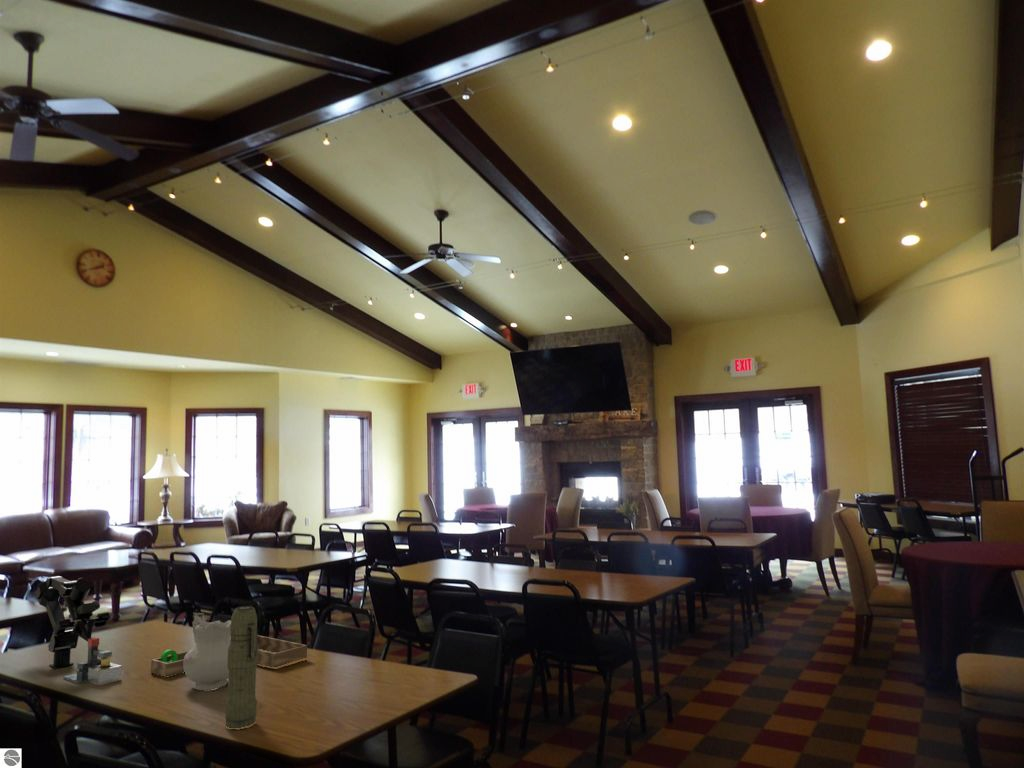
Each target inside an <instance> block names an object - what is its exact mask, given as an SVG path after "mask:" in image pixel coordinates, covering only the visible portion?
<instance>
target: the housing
mask: <svg viewBox="0 0 1024 768" xmlns="http://www.w3.org/2000/svg"><path fill="white" fill-rule="evenodd" d="M122 668H123V666H122V665H121V664H118V663H114V662H110V667H108V668H101V665H98V666H94V667H89V669H88V682H87V683H89V682H90V683H89V684H93V685H96V686H98V685H99V686H103V685H107V684H111V683H115V682H118V680H119V681H122V673H123V672H122V670H123V669H122ZM114 681H115V682H114ZM110 682H111V683H110Z"/></svg>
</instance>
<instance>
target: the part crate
mask: <svg viewBox="0 0 1024 768" xmlns="http://www.w3.org/2000/svg"><path fill="white" fill-rule="evenodd" d="M189 651H190V650H187V651H182V652H179V653H177V661H175V662H171V663H166V662H162V661H161V657H157V658H154V659H151V664H150V665H151V667H150V668H151V669H150V674H152V673H154V674H153V675H155V674H158V675H157V676H159V675H162V676H166V677H167V676H171V675H175V674H179V673H183V672H184V667H183V660H184V657H185V655H186V654H187V653H188V652H189ZM171 658H172V655H168V656H167V658H166V660H167V661H169V660H171ZM183 674H184V673H183ZM179 675H180V674H179ZM162 676H161V677H162ZM175 676H176V675H175ZM171 677H172V676H171Z"/></svg>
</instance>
